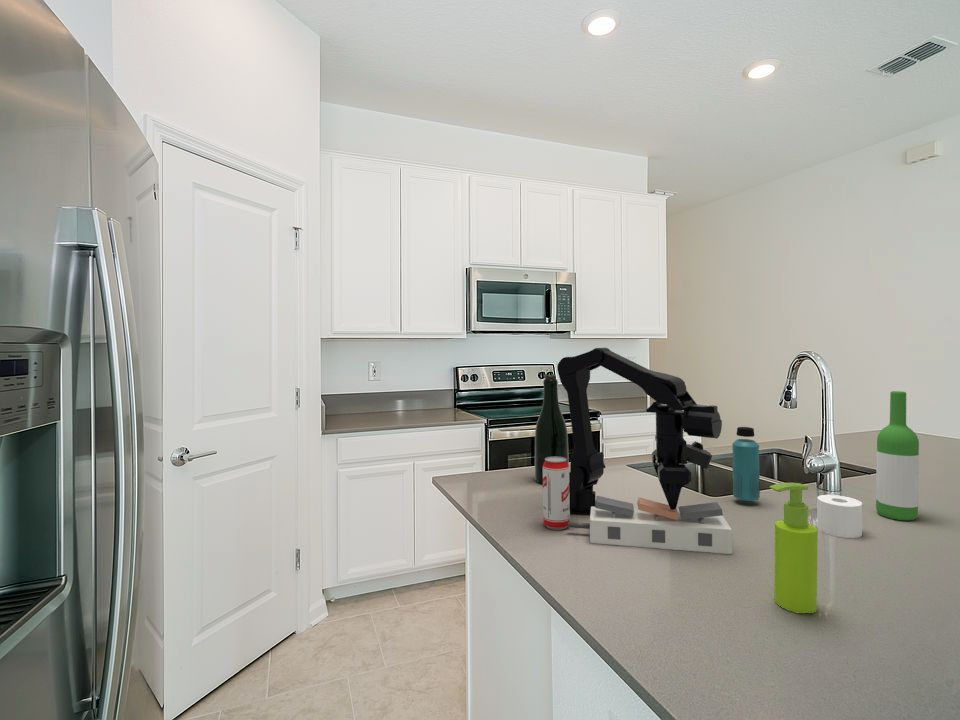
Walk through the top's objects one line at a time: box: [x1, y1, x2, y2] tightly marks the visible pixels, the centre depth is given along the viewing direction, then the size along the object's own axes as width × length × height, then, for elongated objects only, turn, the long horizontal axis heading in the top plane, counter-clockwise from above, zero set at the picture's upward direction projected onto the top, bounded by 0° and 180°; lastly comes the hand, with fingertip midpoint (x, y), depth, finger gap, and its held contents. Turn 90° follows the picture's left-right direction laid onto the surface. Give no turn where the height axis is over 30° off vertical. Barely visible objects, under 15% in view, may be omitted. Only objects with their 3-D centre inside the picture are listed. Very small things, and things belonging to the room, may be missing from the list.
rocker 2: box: [636, 496, 679, 520], centre depth 109 cm, size 8×4×1 cm, turn 76°
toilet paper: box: [816, 493, 863, 539], centre depth 114 cm, size 8×11×7 cm
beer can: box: [542, 456, 571, 531], centre depth 118 cm, size 6×6×16 cm
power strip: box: [567, 507, 733, 555], centre depth 110 cm, size 33×9×6 cm, turn 76°
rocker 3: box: [677, 501, 724, 520], centre depth 107 cm, size 8×4×1 cm, turn 75°
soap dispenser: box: [769, 482, 819, 614], centre depth 82 cm, size 6×7×20 cm
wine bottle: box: [875, 390, 920, 522], centre depth 120 cm, size 8×8×30 cm
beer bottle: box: [534, 374, 570, 485], centre depth 155 cm, size 10×10×33 cm
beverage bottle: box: [731, 426, 761, 502], centre depth 132 cm, size 6×7×20 cm
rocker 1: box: [595, 495, 635, 516], centre depth 111 cm, size 8×4×1 cm, turn 76°
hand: (670, 502), depth 113 cm, fingers open, 9 cm apart
